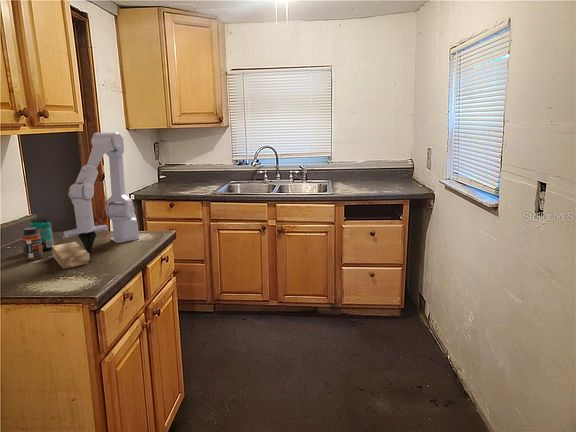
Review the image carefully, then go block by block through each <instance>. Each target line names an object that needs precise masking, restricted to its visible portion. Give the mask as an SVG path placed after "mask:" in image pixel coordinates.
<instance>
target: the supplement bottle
mask: <svg viewBox="0 0 576 432" xmlns="http://www.w3.org/2000/svg"><path fill="white" fill-rule="evenodd" d="M21 244H22V249H23V257H24V260H26V261H35V260H40V259H41V258H43V257H44V251H43V250H42V243H41V237H40V234H39V233H38V232H37V230H36V227H30V226H29V227H25V228H23V234H22V235H21Z"/></svg>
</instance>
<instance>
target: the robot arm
mask: <svg viewBox="0 0 576 432" xmlns="http://www.w3.org/2000/svg"><path fill="white" fill-rule="evenodd" d="M90 143H91V146H92V148H91V151H90V154H89V157H88V161H87V163H86V165H83V166H81V169H80V171H79V174H78V175H77V178H76V180H75V182H74V183H73V184H72V185H70V187H69V188H68V192H67V194H68V197H69V198H70V200H71V203H72V205H73V208H74V215H75V222H76V223H75V224H76V228H73V229H69V230H66V231H65V230H64V231H63V237H64V238H65V239H67V238H70V237H76V236H77V237H78V238H79V240H80V242H81V243H82V244H83V245H82V246H83V247H84V249H85V250H86V251H87V252H88V253H89V254H92V252H93V246H94V241H95V239H96V237H97V234H96V233H98V232H107V231H109V229H108V225H107V224H103V225H102V224H101V225H95V223H94V222H95V221H94V212H93V207H92V205H93V204H92V198H93V197H94V196H95V195H94V194H95V185H94V184H95V182H96V180H97V177H98V176H99V171H98V167H99V165H100V162H101V160H103V157H104V155H105V154H106V156H108V160H109V161H108V162H109V177H110V190H111V191H110V192H111V193H110V194H111V196H110V197H109V198H108V199H106V207H105V214H106V216H107V217H108V218H109V220H111V224H112V234H113V237H111V238H110V240H111V241H113V242H115V243H116V244H119V243H125V242H129V241H135V240H140V239H141V238H140V233H139V225H138V220H137V218H136V217H134V216H135V215H134V214H135V206H134V204H133V199H132V198H130V197H129V196H128V195H127V194H126V183H125V168H124V167H125V165H124V153H125V145H124V143H125V142H124V137H123V136H122V135H121V133H120V132H118V131H115V132H97V131H96V132H94V133H93V134H92V138H91V140H90Z"/></svg>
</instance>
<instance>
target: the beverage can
mask: <svg viewBox="0 0 576 432" xmlns="http://www.w3.org/2000/svg"><path fill="white" fill-rule="evenodd" d="M29 227H36V230H37V232H38V233H39V234H40V237H41V243H42V250H43V252H46V251H51V250H52V246H54V245H55V243H54V237H53V230H52V229H53V228H52V223H51V221H50V220H49V218H48V217H39V218H34V219H31V220H30V224H29Z"/></svg>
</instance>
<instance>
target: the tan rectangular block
mask: <svg viewBox="0 0 576 432" xmlns="http://www.w3.org/2000/svg"><path fill="white" fill-rule="evenodd" d="M51 250H52V258H53V259H54V260H55V261H56V262H57V263H58V264H59V265H60V267H62V269H64V270H65V269H69V268H73V267H78V266H82V265H88V264H89V260H88V256H87V251H86V249H85V248H83V246H81V245H80V244H79V243H77V242H76V241H72V242H67V243H61V244H54V246H52V249H51Z"/></svg>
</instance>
